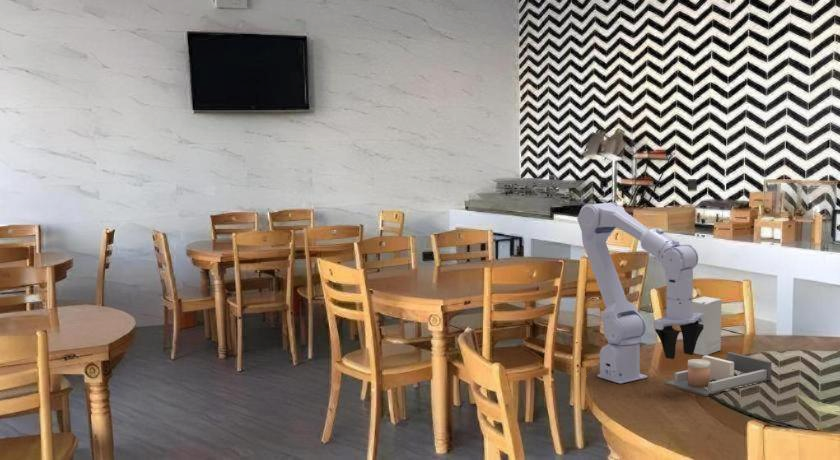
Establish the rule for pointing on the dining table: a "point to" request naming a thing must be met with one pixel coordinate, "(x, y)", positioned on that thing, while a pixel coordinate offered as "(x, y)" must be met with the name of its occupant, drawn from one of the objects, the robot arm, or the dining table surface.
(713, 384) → the lane
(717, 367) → the follower
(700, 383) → the jar
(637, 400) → the dining table surface
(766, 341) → the dining table surface
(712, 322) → the skincare box
